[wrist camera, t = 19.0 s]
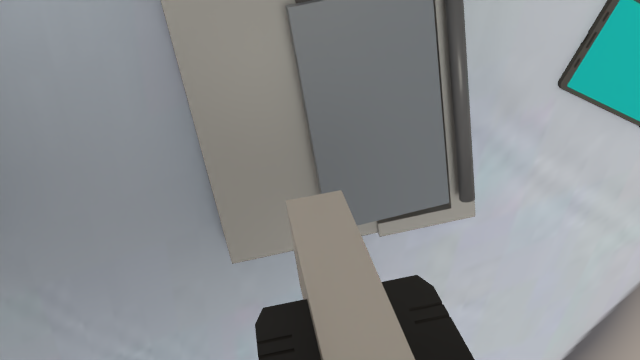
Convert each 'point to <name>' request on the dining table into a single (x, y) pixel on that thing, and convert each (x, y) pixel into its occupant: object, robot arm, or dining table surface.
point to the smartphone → (609, 62)
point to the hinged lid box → (271, 120)
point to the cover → (382, 102)
